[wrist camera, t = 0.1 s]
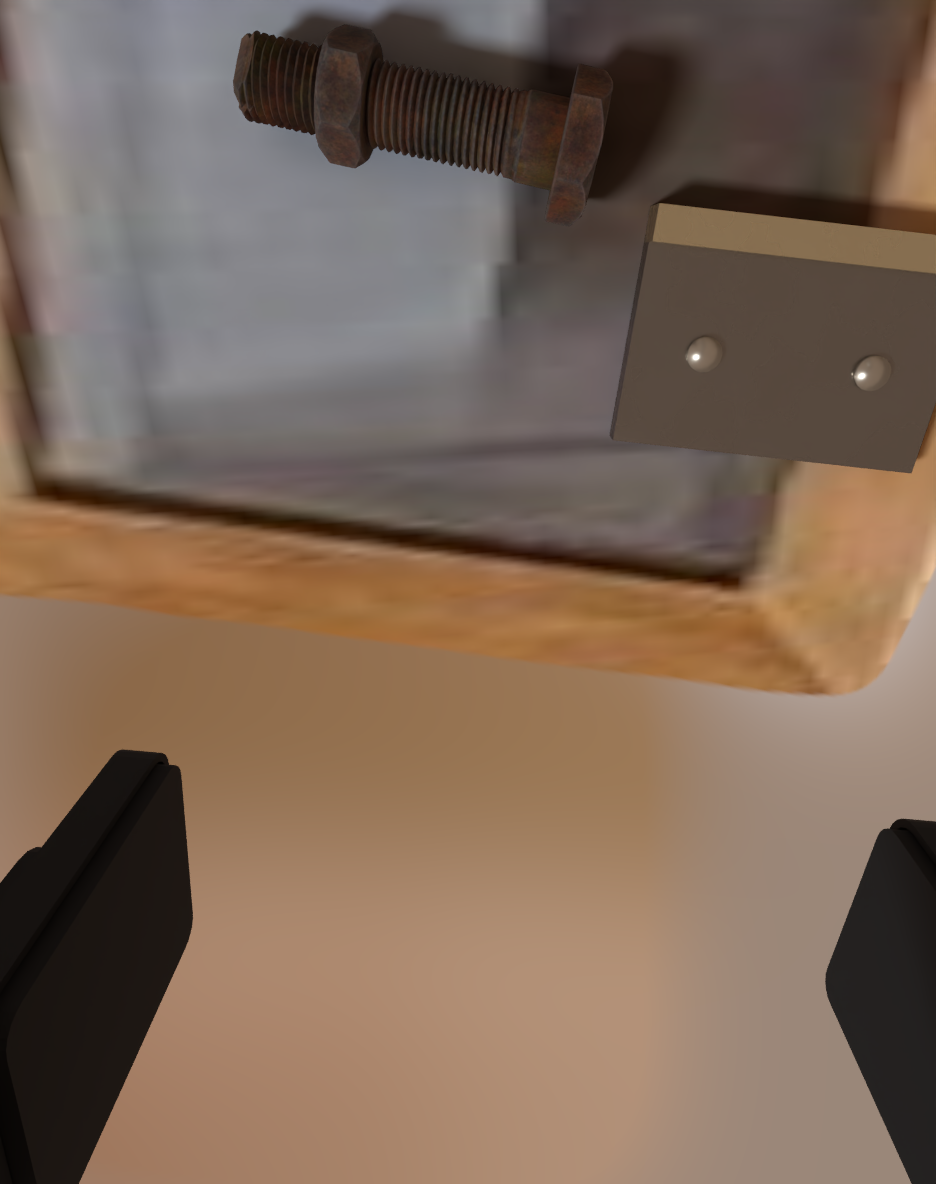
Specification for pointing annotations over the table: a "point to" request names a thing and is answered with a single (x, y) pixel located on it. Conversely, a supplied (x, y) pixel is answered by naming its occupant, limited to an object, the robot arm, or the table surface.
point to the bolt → (426, 113)
